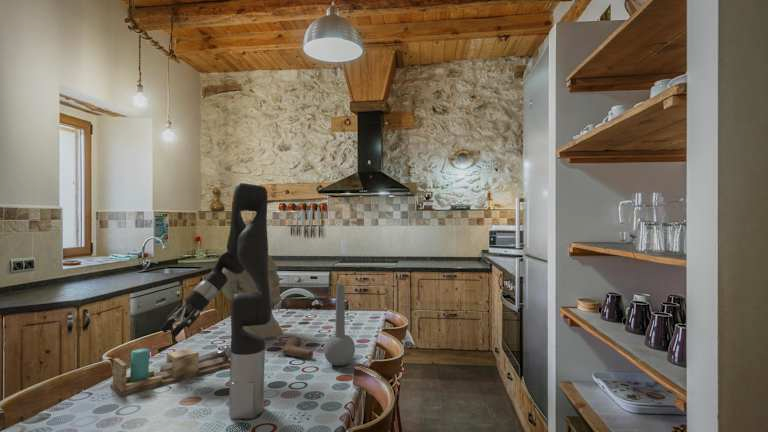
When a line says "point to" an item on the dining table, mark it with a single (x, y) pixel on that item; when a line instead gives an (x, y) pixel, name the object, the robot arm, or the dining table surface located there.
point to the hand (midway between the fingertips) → (167, 333)
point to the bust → (247, 285)
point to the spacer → (139, 365)
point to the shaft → (204, 358)
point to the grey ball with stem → (339, 335)
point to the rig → (182, 369)
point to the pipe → (296, 349)
